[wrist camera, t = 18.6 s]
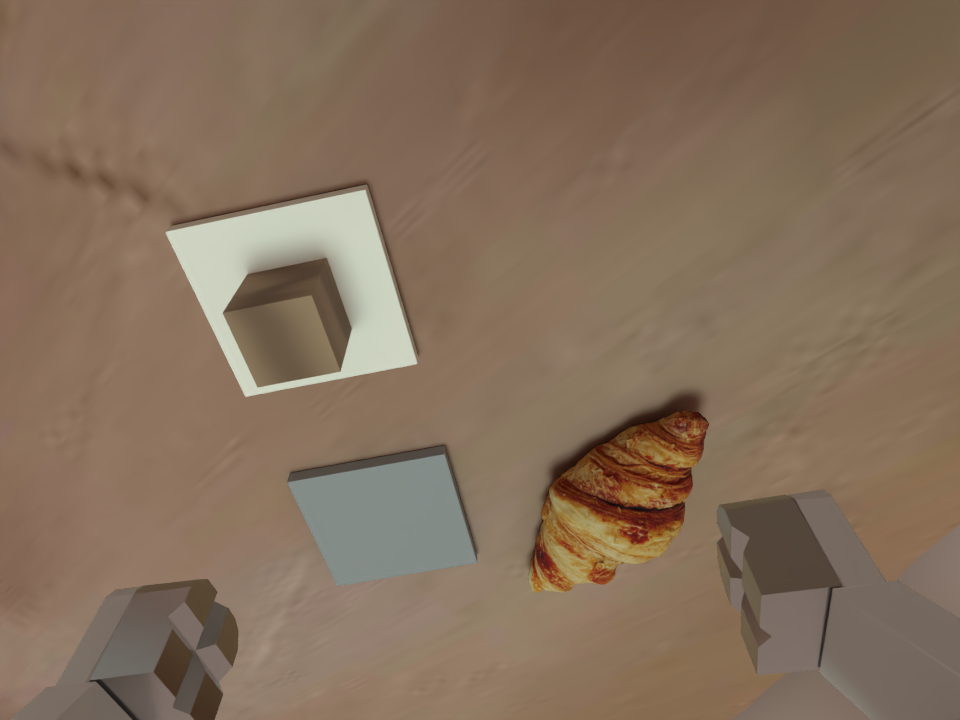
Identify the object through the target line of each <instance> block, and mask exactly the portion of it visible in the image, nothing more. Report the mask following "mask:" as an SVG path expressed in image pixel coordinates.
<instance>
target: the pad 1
mask: <svg viewBox="0 0 960 720" xmlns="http://www.w3.org/2000/svg"><path fill="white" fill-rule="evenodd" d="M166 234H167V236H168V238H169V241H170V243H171V245H172V247H173V249H174V251H175V253H176V255H177V257H178V259H179V261H180V263H181V265H182V267H183V269H184V271H185V273H186V276H187V278H188V280H189V282H190V284H191V286H192V288H193V290H194V292H195V294H196V296H197V298H198V300H199V302H200V304H201V306H202V308H203V310H204V313H205V315H206V317H207V319H208V321H209V323H210V325H211V327H212V329H213V331H214V333H215V335H216V337H217V339H218V341H219V343H220V345H221V347H222V350H223V352H224V354H225V356H226V358H227V360H228V362H229V364H230V366H231V368H232V370H233V372H234V374H235V376H236V378H237V380H238V382H239V384H240V387H241V389H242V391H243V393H244V395H245V397H246V396H252V395H257V394H262V393H267V392H273V391H278V390H283V389H288V388H294V387H299V386H304V385H310V384H315V383H320V382H325V381H331V380H336V379H341V378H346V377H352V376H357V375H362V374H367V373H373V372H378V371H383V370H388V369H394V368H399V367H404V366H409V365H415V364H418V354H417V350H416V347H415V343H414V340H413V337H412V333H411V330H410V327H409V323H408V320H407V317H406V313H405V310H404V306H403V303H402V300H401V296H400V293H399V290H398V286H397V283H396V279H395V276H394V273H393V269H392V266H391V263H390V259H389V256H388V253H387V249H386V246H385V242H384V239H383V236H382V232H381V229H380V226H379V222H378V219H377V215H376V212H375V209H374V205H373V202H372V199H371V195H370V192H369V189H368V185H367V184H366V185H362V186H357V187H352V188H347V189H343V190H338V191H333V192H329V193H324V194H319V195H314V196H310V197H305V198H300V199H296V200H291V201H286V202H281V203H277V204H272V205H267V206H263V207H258V208H253V209H248V210H244V211H239V212H234V213H230V214H225V215H220V216H215V217H211V218H206V219H201V220H197V221H192V222H187V223H183V224H178V225H173V226H171V227H170V228H169V229H168V230H167V231H166ZM324 258H327V260H328V263H329V265H330V268H331V271H332V274H333V277H334V280H335V282H336V285H337V288H338V291H339V294H340V297H341V299H342V302H343V305H344V308H345V311H346V314H347V316H348V319H349V322H350V325H351V328H352V331H351V334H350V338H349V342H348V346H347V349H346V353H345V357H344V361H343V364H342V368H341V372H336V373H331V374H326V375H321V376H315V377H310V378H305V379H300V380H295V381H289V382H284V383H279V384H274V385H268V386H263V387H258V388H257V385H256V383H255V381H254V379H253V377H252V375H251V373H250V371H249V368H248V366H247V364H246V362H245V360H244V358H243V356H242V354H241V351H240V349H239V347H238V345H237V343H236V341H235V339H234V337H233V334H232V332H231V330H230V328H229V326H228V324H227V322H226V319H225V317H224V315H223V311H224V310H225V308H226V307H227V305H228V304H229V302H230V300H231V299H232V297H233V296H234V294H235V293H236V291H237V289H238V288H239V286H240V285H241V283H242V282H243V280H244V279H245V277H246V275H247V274H251V273H256V272H260V271H265V270H270V269H275V268H280V267H285V266H290V265H295V264H299V263H304V262H309V261H314V260H319V259H324Z"/></svg>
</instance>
